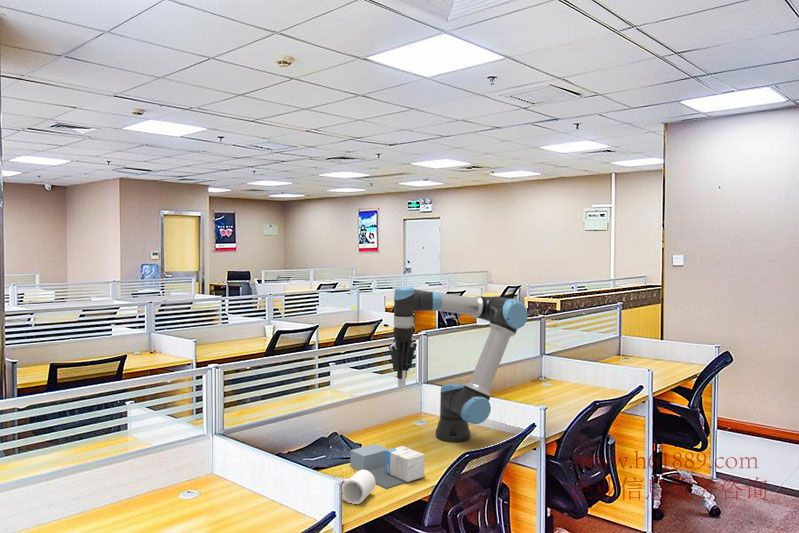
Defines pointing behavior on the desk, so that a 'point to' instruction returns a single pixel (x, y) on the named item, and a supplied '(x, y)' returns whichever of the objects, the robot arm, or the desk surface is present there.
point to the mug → (358, 486)
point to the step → (368, 457)
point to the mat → (386, 478)
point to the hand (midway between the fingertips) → (401, 386)
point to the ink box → (405, 463)
